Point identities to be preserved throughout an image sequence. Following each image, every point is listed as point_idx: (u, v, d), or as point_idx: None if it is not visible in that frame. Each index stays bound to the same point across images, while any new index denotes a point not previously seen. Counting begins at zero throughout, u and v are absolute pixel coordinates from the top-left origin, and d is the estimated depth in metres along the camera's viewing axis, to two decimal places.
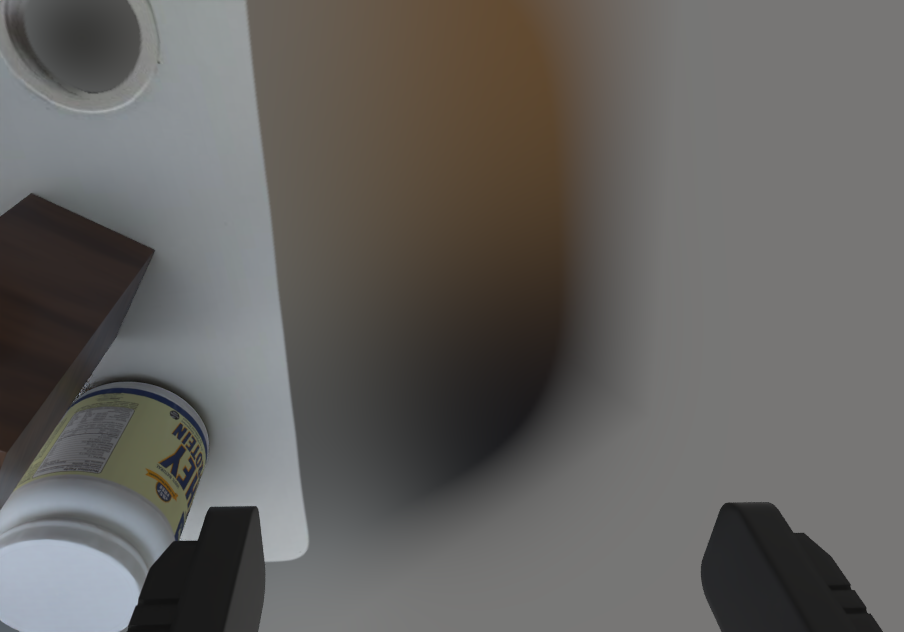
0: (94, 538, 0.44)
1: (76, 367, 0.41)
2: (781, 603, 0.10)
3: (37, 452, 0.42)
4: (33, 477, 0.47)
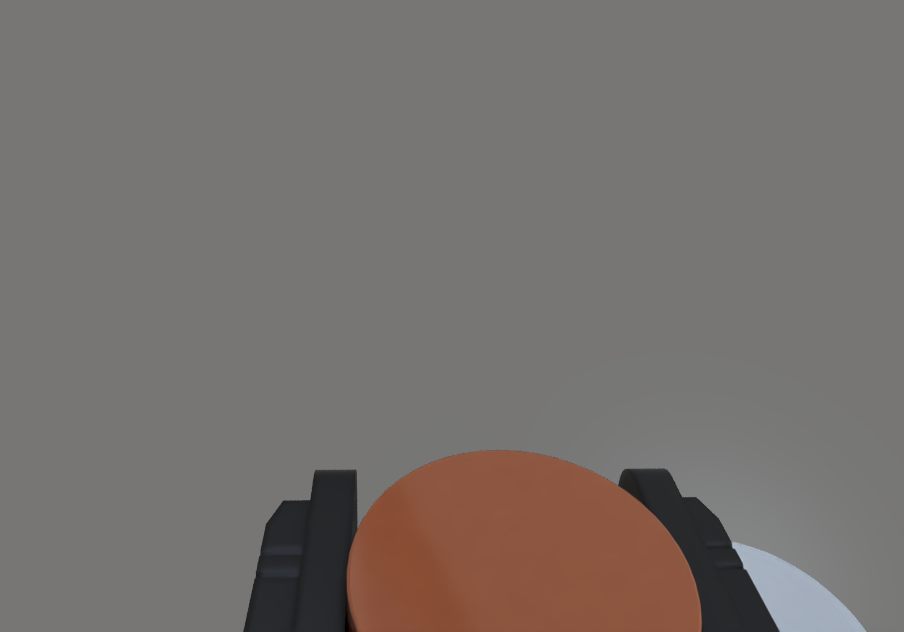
0: None
1: None
2: None
3: None
4: None
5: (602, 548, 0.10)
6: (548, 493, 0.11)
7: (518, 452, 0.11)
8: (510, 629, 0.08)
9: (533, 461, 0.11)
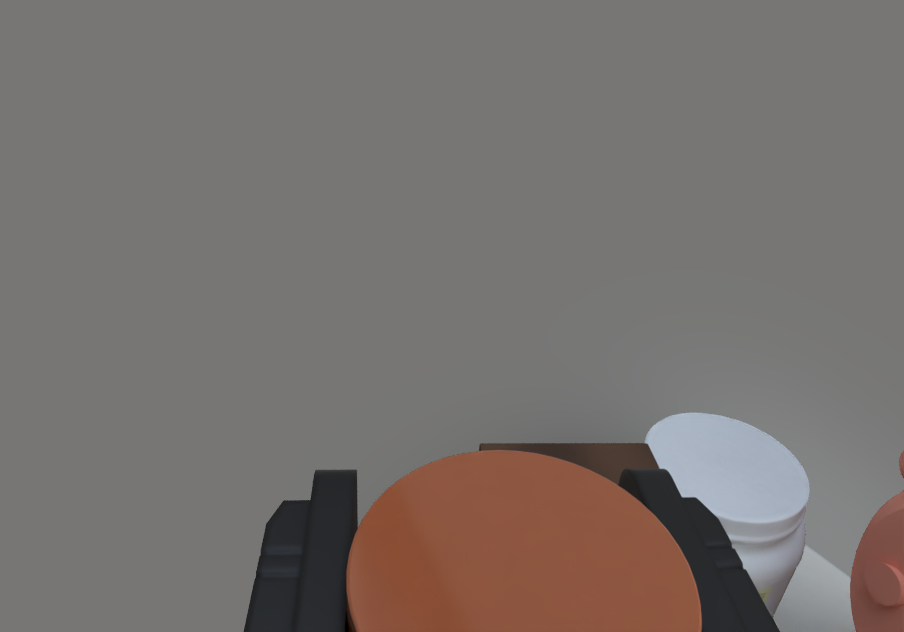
0: None
1: None
2: None
3: None
4: None
5: (602, 548, 0.10)
6: (547, 493, 0.11)
7: (518, 453, 0.11)
8: (510, 629, 0.08)
9: (534, 461, 0.11)
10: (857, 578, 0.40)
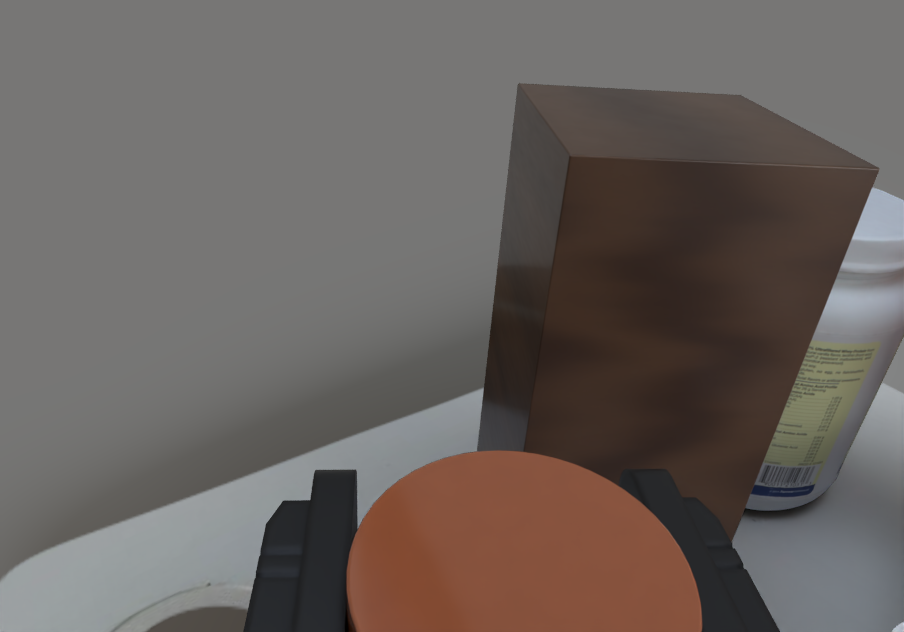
0: None
1: None
2: None
3: None
4: None
5: (602, 548, 0.10)
6: (548, 493, 0.11)
7: (518, 453, 0.11)
8: (510, 629, 0.08)
9: (534, 461, 0.11)
10: None
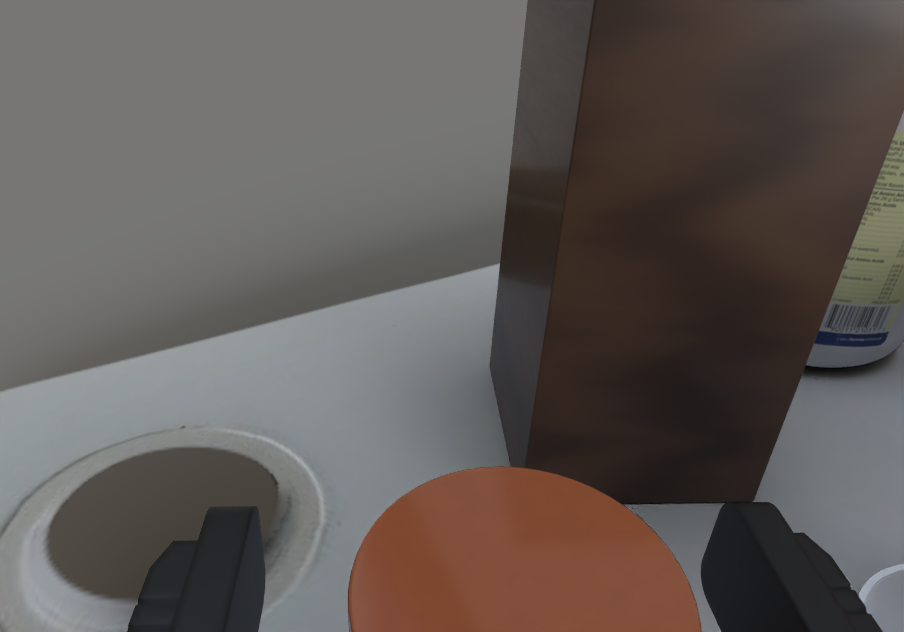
0: None
1: None
2: (781, 603, 0.10)
3: None
4: None
5: (603, 567, 0.10)
6: (549, 510, 0.11)
7: (520, 469, 0.11)
8: None
9: (535, 477, 0.11)
10: None
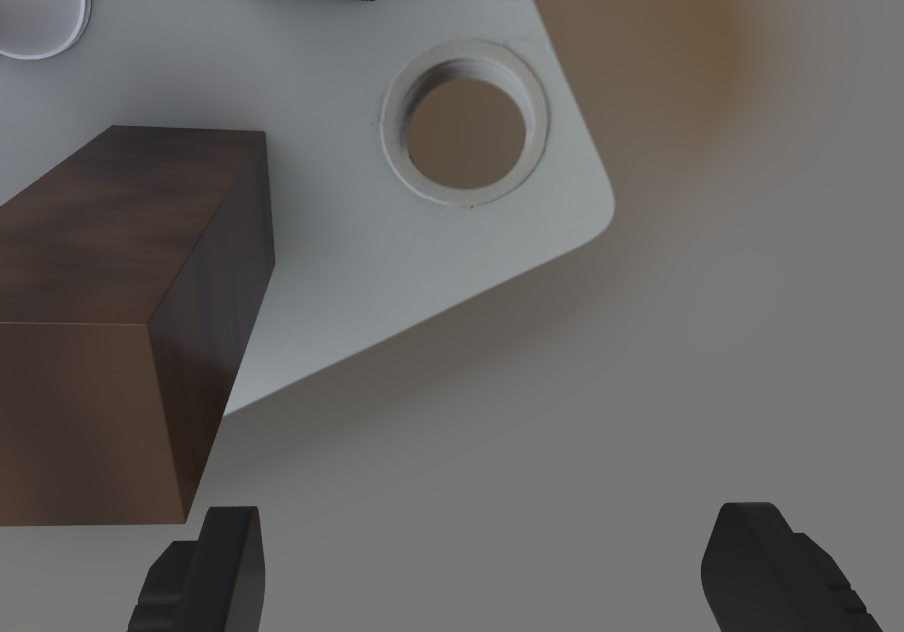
0: None
1: None
2: (781, 603, 0.10)
3: None
4: None
5: None
6: None
7: None
8: None
9: None
10: None
